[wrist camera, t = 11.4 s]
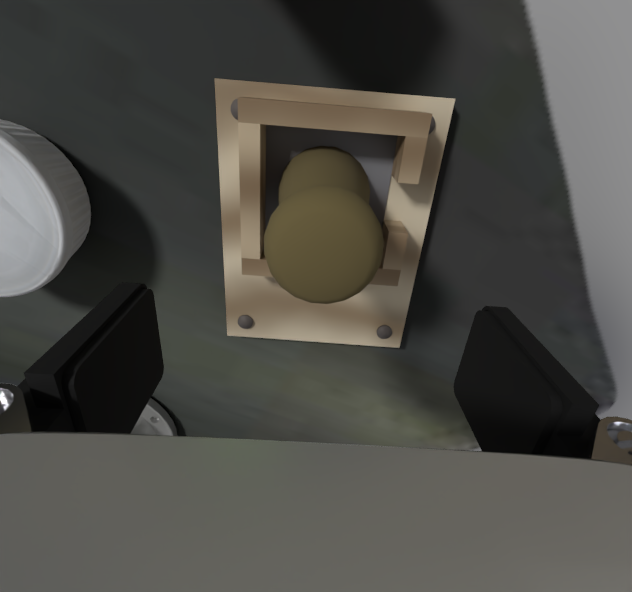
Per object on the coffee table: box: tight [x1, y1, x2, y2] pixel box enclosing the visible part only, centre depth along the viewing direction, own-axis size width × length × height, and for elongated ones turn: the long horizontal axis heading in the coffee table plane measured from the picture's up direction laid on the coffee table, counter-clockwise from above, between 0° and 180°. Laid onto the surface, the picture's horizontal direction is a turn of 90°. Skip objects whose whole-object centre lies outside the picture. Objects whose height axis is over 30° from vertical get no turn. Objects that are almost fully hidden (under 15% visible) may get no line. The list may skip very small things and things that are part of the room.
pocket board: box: [215, 79, 455, 348], centre depth 25 cm, size 18×14×4 cm
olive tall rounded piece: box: [264, 146, 384, 304], centre depth 20 cm, size 6×6×11 cm
